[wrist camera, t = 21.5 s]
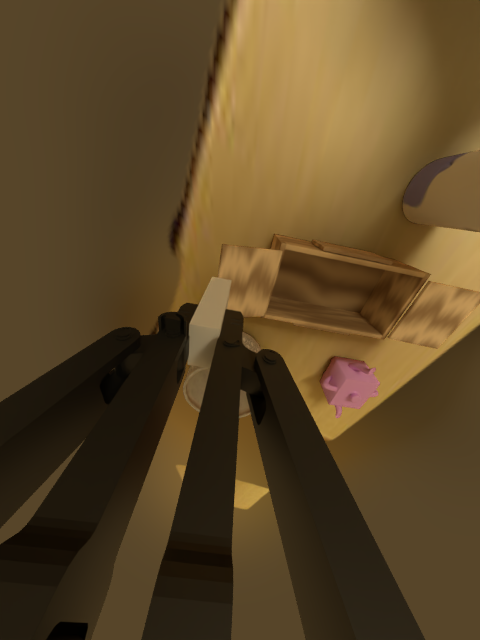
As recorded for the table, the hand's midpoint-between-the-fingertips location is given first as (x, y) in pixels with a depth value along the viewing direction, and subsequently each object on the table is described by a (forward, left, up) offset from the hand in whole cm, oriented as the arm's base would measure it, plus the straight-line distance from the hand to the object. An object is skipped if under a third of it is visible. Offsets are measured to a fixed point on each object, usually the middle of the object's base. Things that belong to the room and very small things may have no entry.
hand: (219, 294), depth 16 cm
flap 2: (+5, +33, -18) cm, 38 cm away
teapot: (+30, +36, -29) cm, 56 cm away
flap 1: (+5, +8, -18) cm, 21 cm away
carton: (+5, +20, -29) cm, 36 cm away
